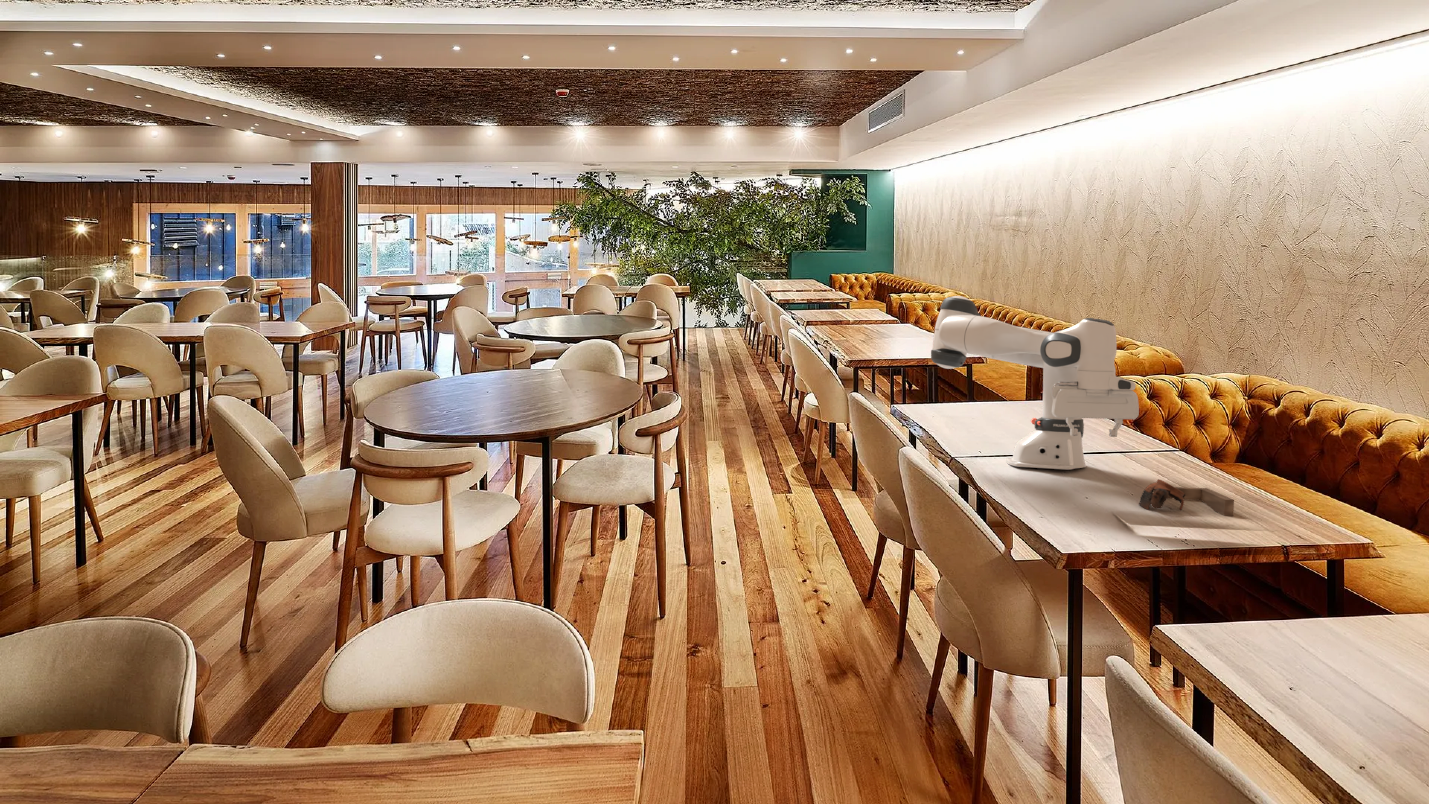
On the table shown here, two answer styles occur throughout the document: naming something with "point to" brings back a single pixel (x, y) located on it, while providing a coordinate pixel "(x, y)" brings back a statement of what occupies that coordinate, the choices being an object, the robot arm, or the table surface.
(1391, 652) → the table surface
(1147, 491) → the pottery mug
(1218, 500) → the dock
